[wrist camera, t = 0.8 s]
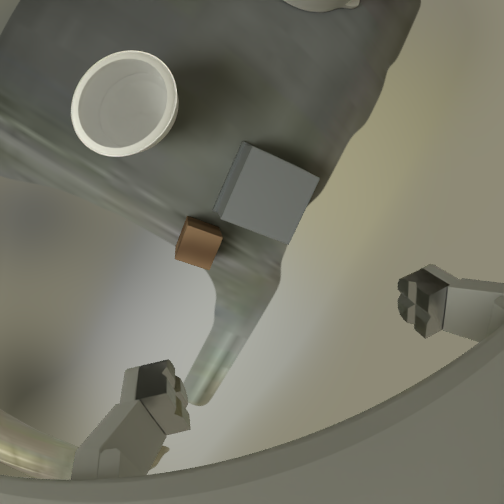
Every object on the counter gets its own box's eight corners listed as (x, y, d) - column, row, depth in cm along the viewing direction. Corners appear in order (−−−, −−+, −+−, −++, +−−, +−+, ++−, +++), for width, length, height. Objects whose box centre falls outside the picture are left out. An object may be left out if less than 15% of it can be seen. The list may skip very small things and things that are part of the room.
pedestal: (242, 141, 42) (251, 142, 37) (307, 171, 45) (323, 176, 40) (212, 210, 45) (216, 221, 39) (277, 234, 48) (289, 248, 43)
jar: (143, 63, 35) (124, 30, 21) (195, 108, 39) (200, 94, 25) (92, 120, 36) (50, 116, 23) (143, 165, 40) (123, 180, 27)
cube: (187, 215, 44) (187, 225, 40) (218, 227, 46) (222, 237, 41) (175, 246, 46) (174, 259, 41) (206, 256, 47) (209, 270, 43)
